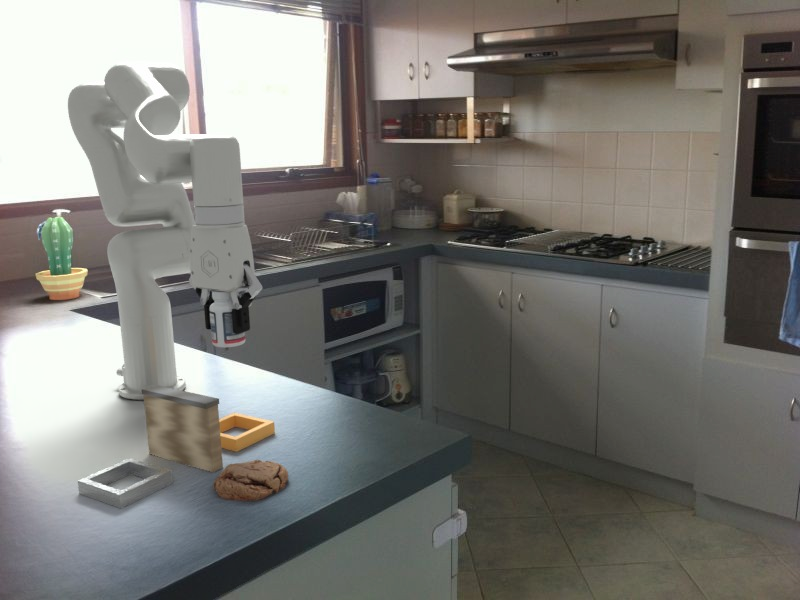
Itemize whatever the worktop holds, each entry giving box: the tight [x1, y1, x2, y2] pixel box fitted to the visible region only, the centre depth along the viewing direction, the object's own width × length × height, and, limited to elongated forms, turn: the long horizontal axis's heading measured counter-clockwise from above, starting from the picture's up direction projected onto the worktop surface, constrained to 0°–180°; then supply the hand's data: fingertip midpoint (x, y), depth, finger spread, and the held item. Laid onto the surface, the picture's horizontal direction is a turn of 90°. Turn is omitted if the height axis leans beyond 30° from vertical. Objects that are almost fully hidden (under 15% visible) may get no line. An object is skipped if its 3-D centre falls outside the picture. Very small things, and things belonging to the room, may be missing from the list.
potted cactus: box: [35, 216, 88, 301], centre depth 248 cm, size 15×15×25 cm
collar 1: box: [77, 457, 174, 509], centre depth 113 cm, size 9×9×2 cm
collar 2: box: [219, 412, 276, 452], centre depth 131 cm, size 9×9×2 cm
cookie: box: [212, 459, 289, 502], centre depth 113 cm, size 10×11×3 cm
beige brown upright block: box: [141, 385, 224, 473], centre depth 121 cm, size 14×3×11 cm, turn 57°
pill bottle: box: [209, 290, 246, 348], centre depth 127 cm, size 5×5×9 cm
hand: (227, 328), depth 128 cm, fingers closed on pill bottle, 5 cm apart
